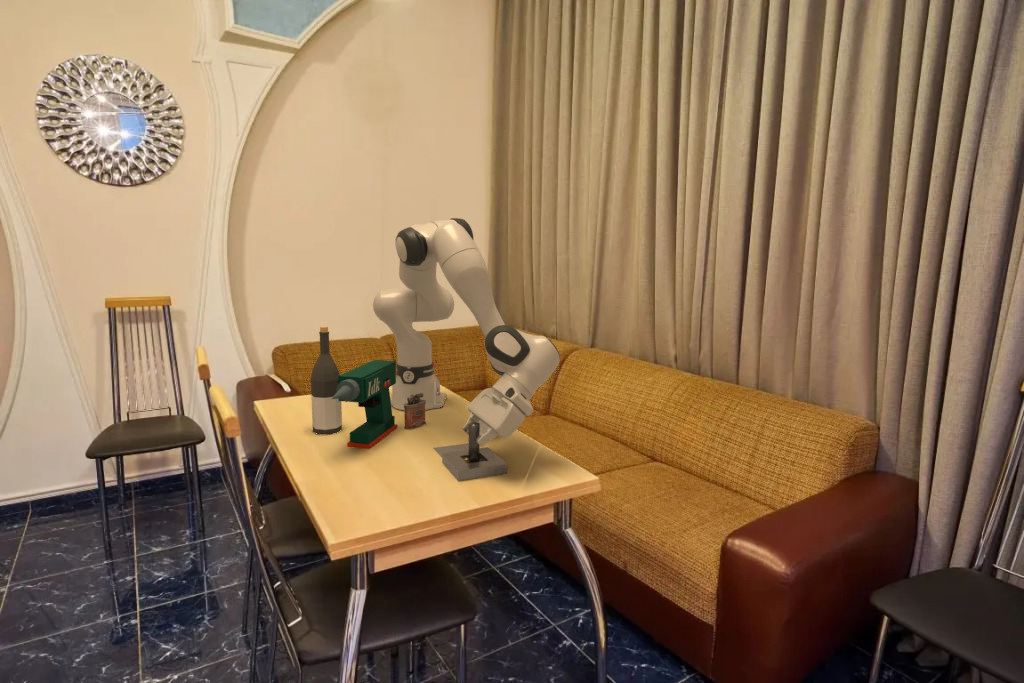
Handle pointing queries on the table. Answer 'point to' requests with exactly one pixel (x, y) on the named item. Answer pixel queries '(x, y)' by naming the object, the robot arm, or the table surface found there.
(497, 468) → the grey square frame
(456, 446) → the grey square plate
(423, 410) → the lighter
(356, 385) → the power tool
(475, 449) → the dark grey peg
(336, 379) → the wine bottle
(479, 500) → the table surface
